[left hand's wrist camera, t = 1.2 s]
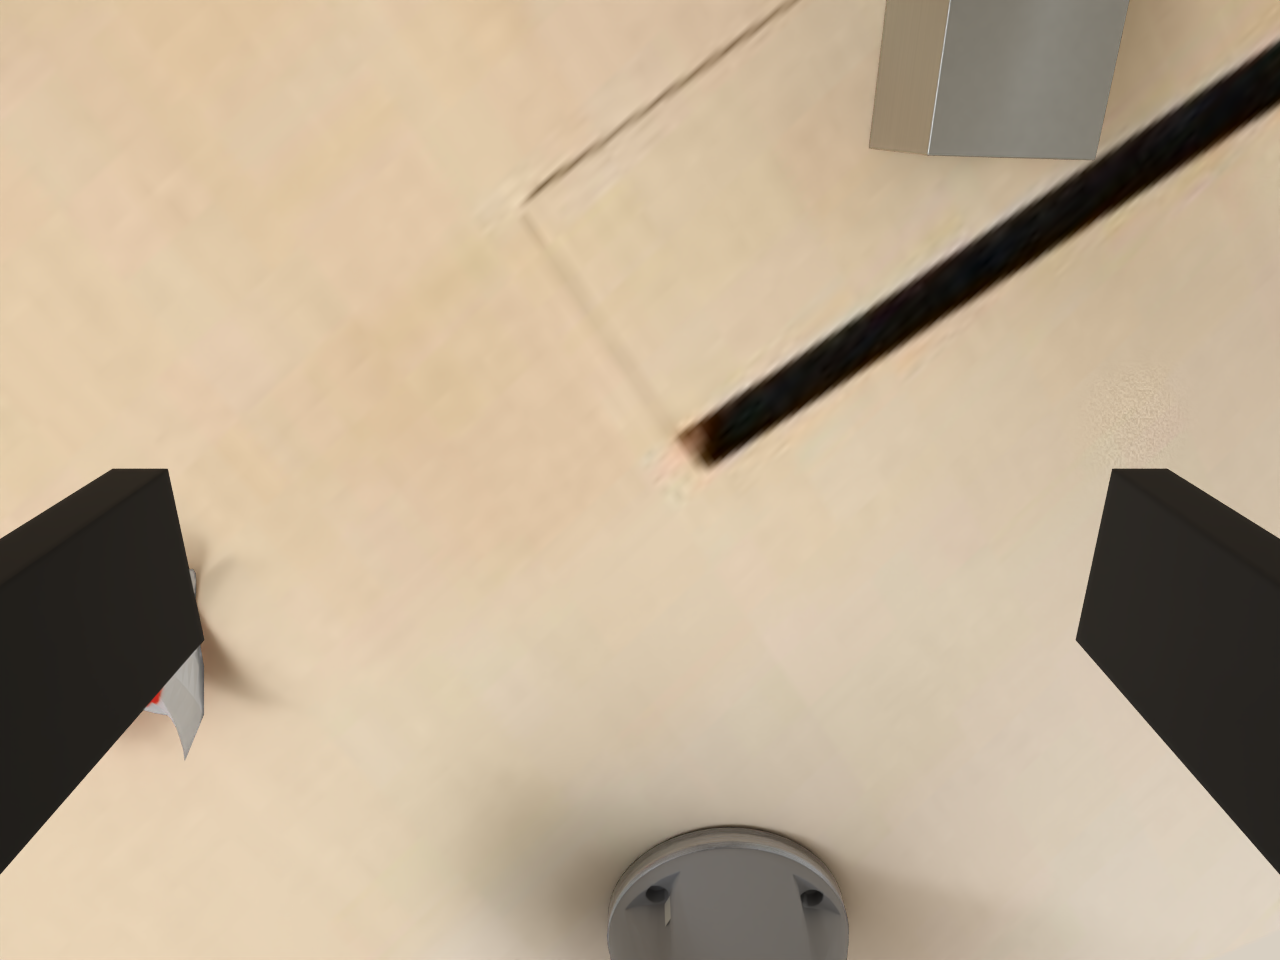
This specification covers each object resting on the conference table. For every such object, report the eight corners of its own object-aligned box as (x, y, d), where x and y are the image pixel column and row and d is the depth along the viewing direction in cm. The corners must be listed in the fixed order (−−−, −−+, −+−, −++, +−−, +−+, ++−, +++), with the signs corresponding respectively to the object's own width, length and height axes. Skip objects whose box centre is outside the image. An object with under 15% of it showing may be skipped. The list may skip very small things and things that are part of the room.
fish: (-149, 661, 43) (-188, 799, 36) (132, 477, 47) (150, 568, 39) (23, 765, 50) (20, 899, 43) (258, 598, 54) (293, 695, 46)
